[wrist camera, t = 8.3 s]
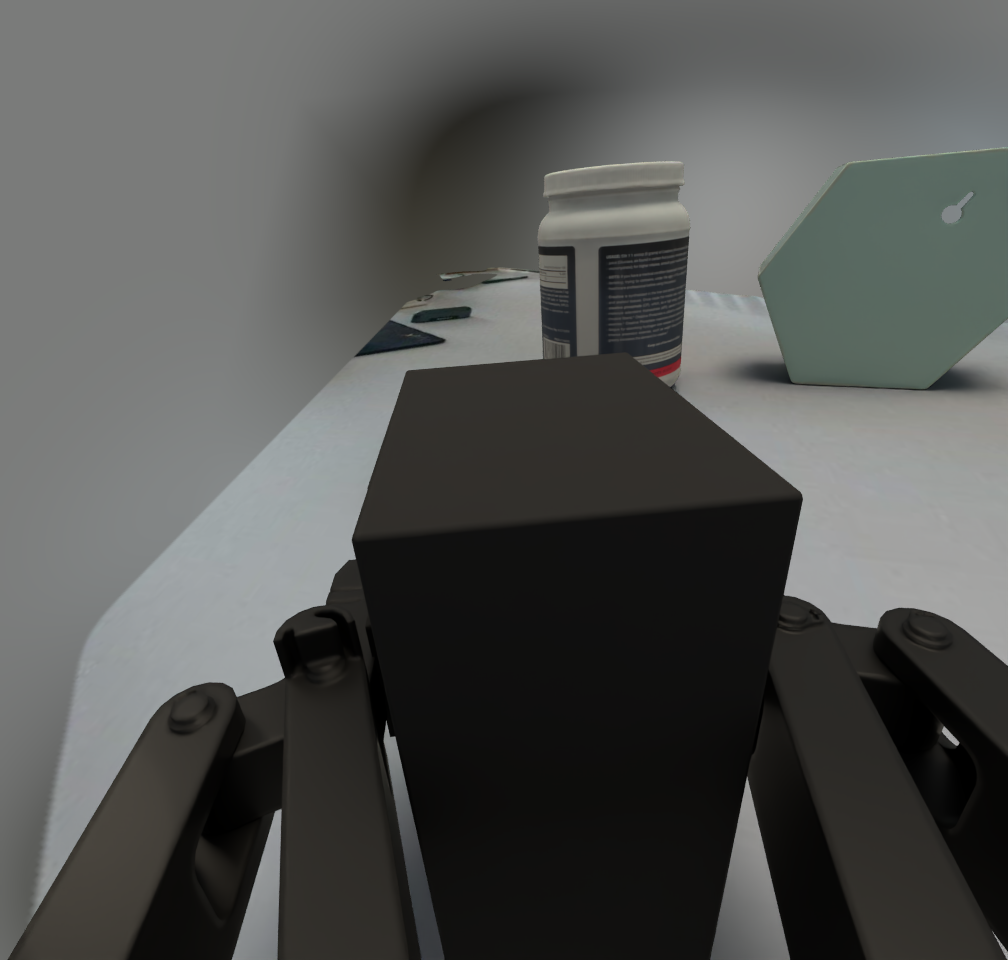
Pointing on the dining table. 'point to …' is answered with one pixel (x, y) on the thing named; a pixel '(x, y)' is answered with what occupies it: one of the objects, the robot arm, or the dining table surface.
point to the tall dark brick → (572, 650)
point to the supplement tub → (615, 264)
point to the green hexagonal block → (892, 271)
